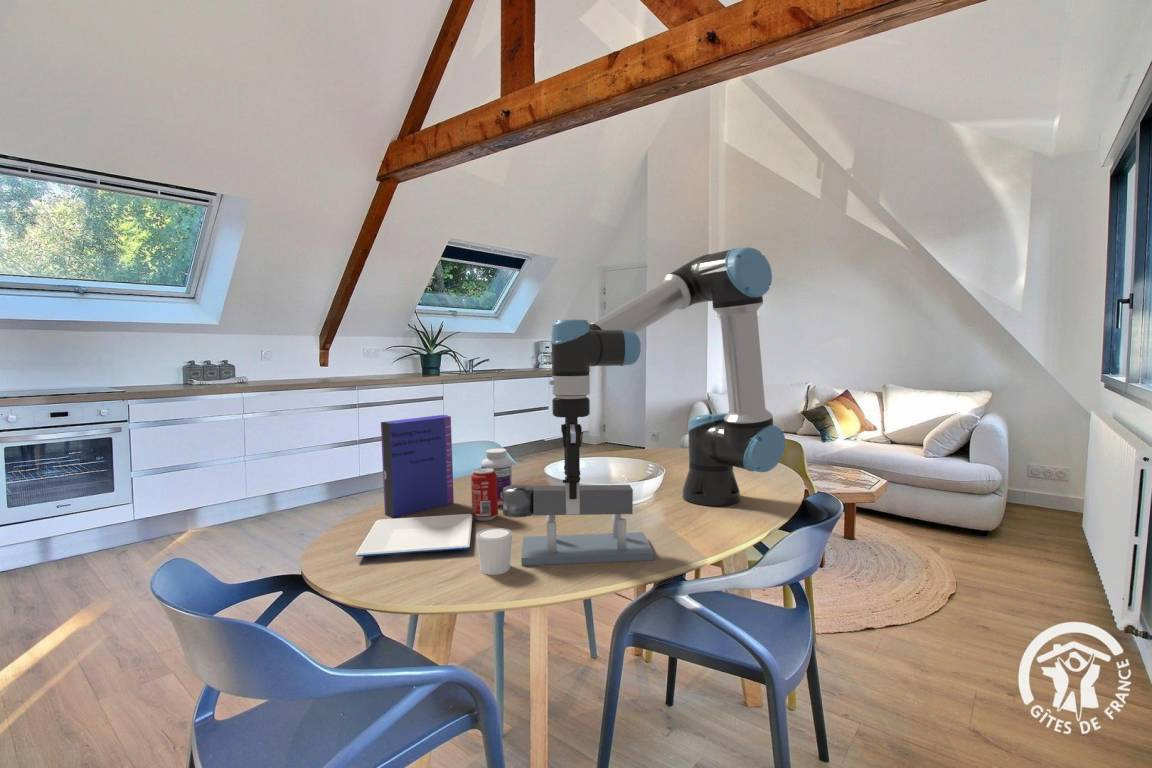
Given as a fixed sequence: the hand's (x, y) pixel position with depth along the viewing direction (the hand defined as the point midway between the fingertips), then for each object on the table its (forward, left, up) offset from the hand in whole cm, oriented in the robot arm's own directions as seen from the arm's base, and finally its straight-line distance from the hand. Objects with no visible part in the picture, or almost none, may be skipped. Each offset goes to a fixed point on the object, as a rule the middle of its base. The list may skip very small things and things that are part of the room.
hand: (572, 510), depth 114 cm
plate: (+33, -11, -9) cm, 36 cm away
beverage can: (+20, -25, -9) cm, 33 cm away
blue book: (+38, -35, -9) cm, 53 cm away
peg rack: (-3, 0, -9) cm, 9 cm away
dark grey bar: (+1, 0, 0) cm, 1 cm away
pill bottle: (+18, -38, -9) cm, 43 cm away
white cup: (+15, +7, -9) cm, 19 cm away
